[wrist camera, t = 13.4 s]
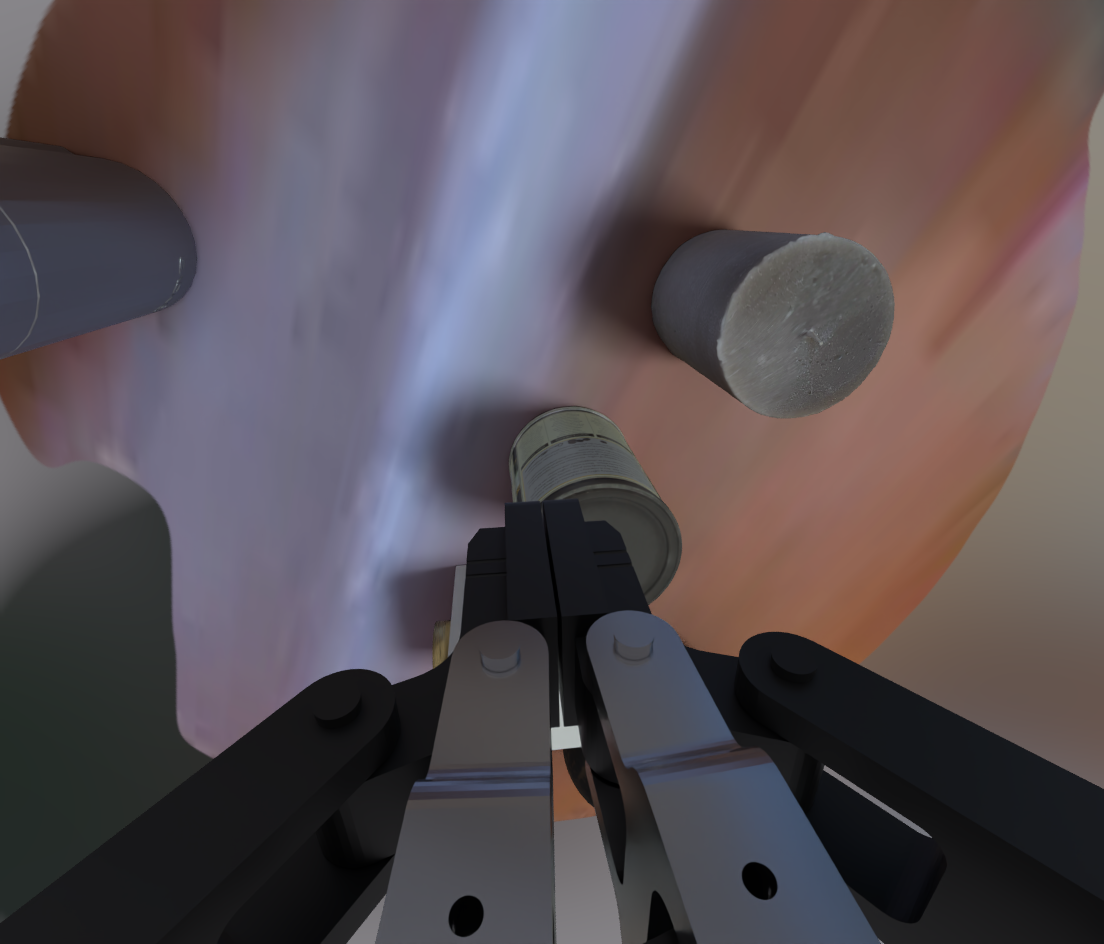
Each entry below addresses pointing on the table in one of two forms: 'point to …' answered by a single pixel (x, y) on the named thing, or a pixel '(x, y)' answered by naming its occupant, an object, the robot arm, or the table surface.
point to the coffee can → (598, 486)
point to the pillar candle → (776, 316)
